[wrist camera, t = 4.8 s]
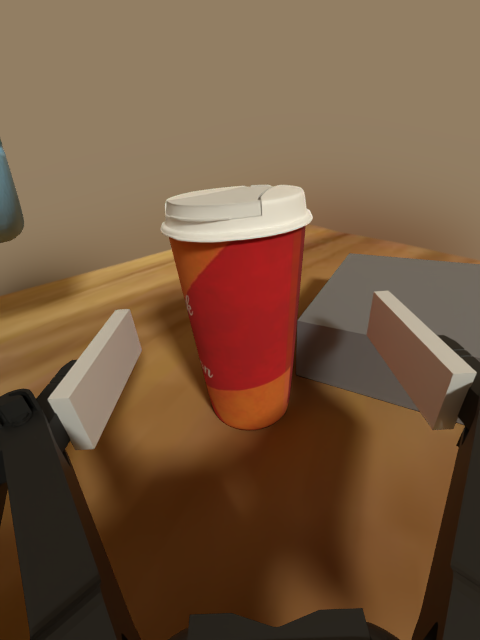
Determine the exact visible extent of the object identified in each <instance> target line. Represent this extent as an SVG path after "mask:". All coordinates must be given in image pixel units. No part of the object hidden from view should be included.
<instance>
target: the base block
mask: <svg viewBox="0 0 480 640" xmlns="http://www.w3.org/2000/svg"><path fill="white" fill-rule="evenodd" d="M375 291H389V292H390V293H392V294H393V295H394V296H395V297H396V298H397V299H398V300H399V301H400V302H401V303H402V304H403V305H405V306H406V307H407V308H408V309H409V310H410V311H411V312H412V313H413V314H414V315H415V316H416V317H417V318H419V319H420V320H421V321H422V322H423V323H424V324H425V325H426V326H427V327H428V328H429V329H430V330H431V331H433V332H434V333H435V334H436V335H445V336H447V337H449V338H451V339H453V340H455V341H456V342H457V343H459V344H460V345H461V346H462V347H463V348H464V350H467V351H468V352H469V353H470V354H471V356H473V357H475V358H476V359H477V360H478V361H479V362H480V264H468V263H456V262H444V261H432V260H421V259H409V258H397V257H385V256H373V255H362V254H350V253H349V255H348V256H347V257H346V259H345V260H344V261H343V262H342V264H341V265H340V266H339V268H338V269H337V270H336V271H335V273H334V274H333V275H332V277H331V278H330V279H329V280H328V282H327V283H326V284H325V286H324V287H323V288H322V289H321V291H320V292H319V293H318V295H317V296H316V297H315V298H314V300H313V301H312V302H311V304H310V305H309V306H308V307H307V309H306V310H305V311H304V313H303V314H302V315H301V316H300V318H299V319H298V320H297V355H296V375H298V376H302V377H305V378H308V379H312V380H315V381H319V382H322V383H325V384H329V385H332V386H335V387H339V388H342V389H345V390H349V391H352V392H356V393H359V394H362V395H366V396H369V397H372V398H376V399H379V400H383V401H386V402H389V403H393V404H396V405H399V406H403V407H406V408H409V409H413V410H416V411H419V410H418V408H417V407H416V405H415V404H414V402H413V401H412V400H411V398H410V397H409V395H408V394H407V392H406V391H405V390H404V388H403V387H402V385H401V384H400V382H399V381H398V380H397V378H396V377H395V375H394V374H393V372H392V371H391V370H390V368H389V367H388V365H387V364H386V362H385V361H384V360H383V358H382V357H381V355H380V354H379V352H378V351H377V350H376V348H375V347H374V345H373V344H372V342H371V341H370V339H369V338H368V337H367V329H368V323H369V317H370V311H371V305H372V299H373V293H374V292H375ZM456 422H457V423H460V424H463V422H462V421H461V420H460V419H459V418H458V419H457V421H456ZM463 425H464V424H463Z"/></svg>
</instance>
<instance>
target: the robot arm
mask: <svg viewBox="0 0 480 640" xmlns="http://www.w3.org/2000/svg"><path fill="white" fill-rule="evenodd" d="M23 227H24V219H23V214H22V210H21V206H20V203H19V199H18V195H17V192H16V188H15V185H14V182H13V179H12V175H11V172H10V168H9V165H8V162H7V159H6V155H5V152H4V150H3V147H2V142H1V139H0V243H3V242H7V241H11V240H12V239H14V238H16V237H17V236H18V235H19V234H20V233H21V232H22V230H23ZM367 337H368V338H369V339H370V341H371V342H372V344H373V345H374V347H375V348H376V350H377V351H378V352H379V354H380V355H381V357H382V358H383V360H384V361H385V362H386V364H387V365H388V367H389V368H390V370H391V371H392V372H393V374H394V375H395V377H396V378H397V380H398V381H399V382H400V384H401V385H402V387H403V388H404V390H405V391H406V392H407V394H408V395H409V397H410V398H411V400H412V401H413V402H414V404H415V405H416V407H417V408H418V410H419V411H420V412H421V414H422V415H423V417H424V418H425V420H426V421H427V422H428V424H429V425H430V427H431V428H432V430H442V429H453V428H454V426H455V424H456V421H457V419H458V418H459V419H460V420H461V421H462V422H463V424H464V425H465V427H464V430H463V432H462V434H461V436H460V439H459V441H458V443H457V445H456V446H458V447H459V449H458V453H457V458H456V462H455V466H454V471H453V475H452V479H451V484H450V488H449V492H448V497H447V501H446V505H445V509H444V514H443V518H442V522H441V527H440V531H439V535H438V540H437V544H436V548H435V553H434V557H433V561H432V566H431V570H430V574H429V579H428V583H427V587H426V592H425V596H424V600H423V605H422V609H421V613H420V616H419V619H418V622H417V624H416V627H415V630H414V633H413V636H412V640H480V362H479V361H478V360H477V359H476V358H475V357H473V356H471V354H470V353H469V352H468V351H467V350H464V348H463V347H462V346H461V345H460V344H459V343H457V342H456V341H455V340H453V339H451V338H449V337H447V336H445V335H436V334H435V333H434V332H433V331H431V330H430V329H429V328H428V327H427V326H426V325H425V324H424V323H423V322H422V321H421V320H420V319H419V318H417V317H416V316H415V315H414V314H413V313H412V312H411V311H410V310H409V309H408V308H407V307H406V306H405V305H403V304H402V303H401V302H400V301H399V300H398V299H397V298H396V297H395V296H394V295H393V294H392V293H390V292H389V291H375V292H374V293H373V299H372V305H371V311H370V317H369V323H368V329H367ZM141 351H142V349H141V346H140V342H139V339H138V335H137V332H136V329H135V325H134V322H133V319H132V315H131V312H130V309H123V310H115V312H114V313H113V314H112V316H111V317H110V318H109V320H108V321H107V322H106V323H105V325H104V326H103V327H102V329H101V330H100V331H99V333H98V334H97V335H96V336H95V338H94V339H93V340H92V342H91V343H90V344H89V346H88V347H87V348H86V350H85V351H84V352H83V353H82V355H81V356H80V357H79V359H78V360H71V361H70V362H69V363H67V364H66V365H65V366H63V367H62V368H61V369H60V370H59V372H58V373H57V374H56V375H55V377H54V378H53V379H52V380H51V381H50V384H48V385H47V386H46V388H45V389H44V390H43V391H42V392H41V394H40V395H39V396H38V397H37V399H36V398H35V397H34V395H33V393H32V392H31V391H30V390H29V389H18V390H14V391H11V392H8V393H6V394H4V395H2V396H1V397H0V525H1V520H2V515H3V510H4V505H5V500H6V495H7V490H8V492H9V499H10V505H11V512H12V518H13V525H14V531H15V538H16V545H17V551H18V558H19V564H20V571H21V577H22V584H23V590H24V597H25V604H26V610H27V617H28V623H29V630H30V640H141V638H140V636H139V634H138V632H137V630H136V628H135V626H134V624H133V622H132V619H131V617H130V614H129V612H128V609H127V606H126V604H125V601H124V599H123V596H122V593H121V591H120V588H119V586H118V583H117V580H116V578H115V575H114V573H113V570H112V568H111V565H110V562H109V560H108V557H107V555H106V552H105V549H104V547H103V544H102V542H101V539H100V536H99V534H98V531H97V529H96V526H95V523H94V521H93V518H92V516H91V513H90V511H89V508H88V505H87V503H86V500H85V498H84V495H83V492H82V490H81V487H80V485H79V482H78V479H77V477H76V474H75V472H74V469H73V466H72V464H71V461H70V459H69V456H68V454H67V452H66V450H65V448H66V446H67V445H68V443H69V441H71V443H72V445H73V447H74V448H75V450H85V449H95V447H96V445H97V443H98V440H99V438H100V436H101V434H102V432H103V430H104V428H105V426H106V424H107V422H108V420H109V418H110V416H111V413H112V411H113V409H114V407H115V405H116V403H117V401H118V399H119V397H120V395H121V393H122V391H123V388H124V386H125V384H126V382H127V380H128V378H129V376H130V374H131V372H132V370H133V368H134V366H135V364H136V361H137V359H138V357H139V355H140V353H141ZM168 640H399V639H398V638H397V637H395V636H394V635H392V634H391V633H389V632H388V631H386V630H384V629H382V628H380V627H378V626H376V625H374V624H372V623H369V622H366V620H365V616H364V612H363V609H362V608H356V609H329V610H318V611H316V612H313V613H311V614H309V615H306V616H304V617H302V618H299V619H297V620H294V621H292V622H290V623H287V624H285V625H283V626H280V627H272V626H269V625H266V624H263V623H260V622H257V621H254V620H251V619H248V618H245V617H242V616H239V615H236V614H233V613H222V614H195V615H190V619H189V628H187V629H184V630H182V631H180V632H179V633H177V634H176V635H174V636H172V637H171V638H170V639H168Z"/></svg>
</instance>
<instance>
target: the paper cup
mask: <svg viewBox="0 0 480 640" xmlns="http://www.w3.org/2000/svg"><path fill="white" fill-rule="evenodd" d="M312 218H313V216H312V214H311V212H310V210H308V209H306V201H305V193H304V191H303V189H302V188H301V187H297V186H289V185H278V186H275V187H273V186H270V185H251V187H245V186H234V187H224V188H215V189H207V190H201V191H194V192H189V193H185V194H180V195H176V196H174V197H171V198H169V199H167V200H166V203H165V219H166V220H165V221H164V222H163V223H162V226H161V232H162V233H163V234H164V235H166V236H168V237H169V239H170V243H171V247H172V251H173V255H174V259H175V263H176V267H177V271H178V275H179V279H180V283H181V287H182V291H183V295H184V299H185V303H186V307H187V311H188V315H189V319H190V323H191V327H192V331H193V335H194V339H195V342H196V346H197V350H198V354H199V358H200V362H201V366H202V370H203V374H204V377H205V381H206V385H207V389H208V392H209V396H210V399H211V403H212V406H213V409H214V411H215V413H216V415H217V416H218V418H219V419H220V420H221V421H222V422H223V423H225V424H226V425H228V426H230V427H233V428H236V429H240V430H258V429H263V428H266V427H268V426H270V425H272V424H274V423H276V422H277V421H278V420H279V419H280V418H281V417H282V416H283V415H284V414H285V412H286V410H287V407H288V403H289V397H290V389H291V380H292V370H293V360H294V349H295V338H296V327H297V316H298V305H299V293H300V282H301V271H302V260H303V249H304V237H305V226H306V225H307V224H309V223H310V222H311V220H312Z"/></svg>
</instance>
